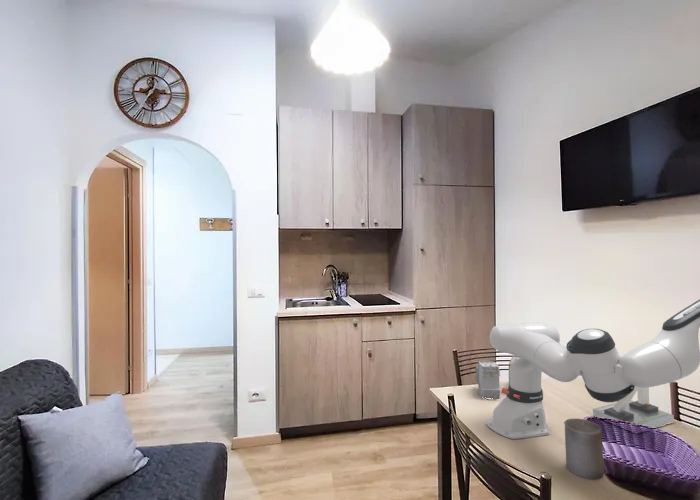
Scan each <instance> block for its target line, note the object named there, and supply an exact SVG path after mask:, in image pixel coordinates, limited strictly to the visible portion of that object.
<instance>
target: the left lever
mask: <svg viewBox="0 0 700 500" xmlns="http://www.w3.org/2000/svg"><path fill="white" fill-rule="evenodd" d="M638 388H639V387H636V386H635V387H634V390H633V392H631V393H630V394H628V395H627V396H626V397H625V398H623V399H621V400H619V401H616V402H615V403H616V404H615V406H614V408H613V409H614V410H616V411H617V412H622V411H624V410H625V409H626V407H627V406H628V404H629V402H630V401H632V399H633V398H634V396H635V394H636V393H638V392H637V390H638ZM631 389H632V388H631Z"/></svg>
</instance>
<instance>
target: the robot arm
mask: <svg viewBox="0 0 700 500" xmlns="http://www.w3.org/2000/svg"><path fill="white" fill-rule="evenodd" d="M699 331H700V299H698V300H696V301H695V302H693V303H691V304H690V305H688V306H687V307H685V308H683V309H681V310H680V311H678V312H677V313H675V314H674V315H671V316H670V317H669V318H668V319H666V321H664V322H663V323H662V327H661V330H660V332H659V333H658V334H657V335H656V337H654V339H652V340H651V341H649V342H648V341H647V342H645V343H642V344H641V345H639V346H637V347H635V348H633V349H630V350H629V351H628V352H626V353H623V354H619V352H618V349H617V348H616V342H615V341H614V339H613V337H612V336H611V334H610V333H609V332H608V331H606V330H604V329H600V328H587V329H583V330H582V329H581V330H580V331H578V332H577V333H575V335H573V336H572V337H571V339H570V340H569V341H568V342H567V343H566V346H564V345H563V344H562V343H560V342H561V339H560V338H561V337H560V334H559V331H558V330H557V328H556V327H555V326H554V325H552V324H548V323H541V322H526V323H525V322H523V323H503V324H499V325H494V326H493V327H492V329H491V330H490V333H489V341H490V344H491V345H492V348H493V349H495V350H496V351H497V352H502V353H506V354H510V355H513V356H514V357H520V358H519V359H518V360H516V361H514V362H513V363H512V364H511V366H510V385H509V384H508V388H506V387H502V388H501V389H500V393H502V394H504V395H506V396H505V397H504V398H503V399H502V400H501V402H499V404H498V405H496V406H495V407H494V409H493V413H492V418H490V419H488V420H486V425H487V427H488V428H490V429H491V430H492V431H493V432H495V433H497V434H498V435H501V436H503V437H505V438H508V439H512V440H517V439H526V438H533V437H542V436H549V435H550V433H549V429H548V424H547V421H546V413H545V409H544V405H543V404H544V403H543V400H544V391H543V390H544V389H543V388H542V373H544V374H545V375H546V376H548V377H549V378H552V379H554V380H556V381H558V382H561V383H569V382H572V381H574V380H576V379H577V378H578V377H579V376H580V377H582V380H583V382H584V387H585V389H586V391H587V392H588V394H589V395H590V397H591V398H592V399H594V400H597V401H599V402H601V403H617V401H619V400H621V399H623V398H625V397H626V396H627V395H628V394H630V393H631V392H633V390H634V387H635V386H636V387H640V388H647V387H649V388H654V387H658V386H662V385H667V384H670V383H673V382H676V381H678V380H682V379H683V378H685V377H688V376H690V375H692V374H694V372H696V370H697V369H698V368H699V366H700V342H699ZM631 388H632V389H631Z"/></svg>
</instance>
